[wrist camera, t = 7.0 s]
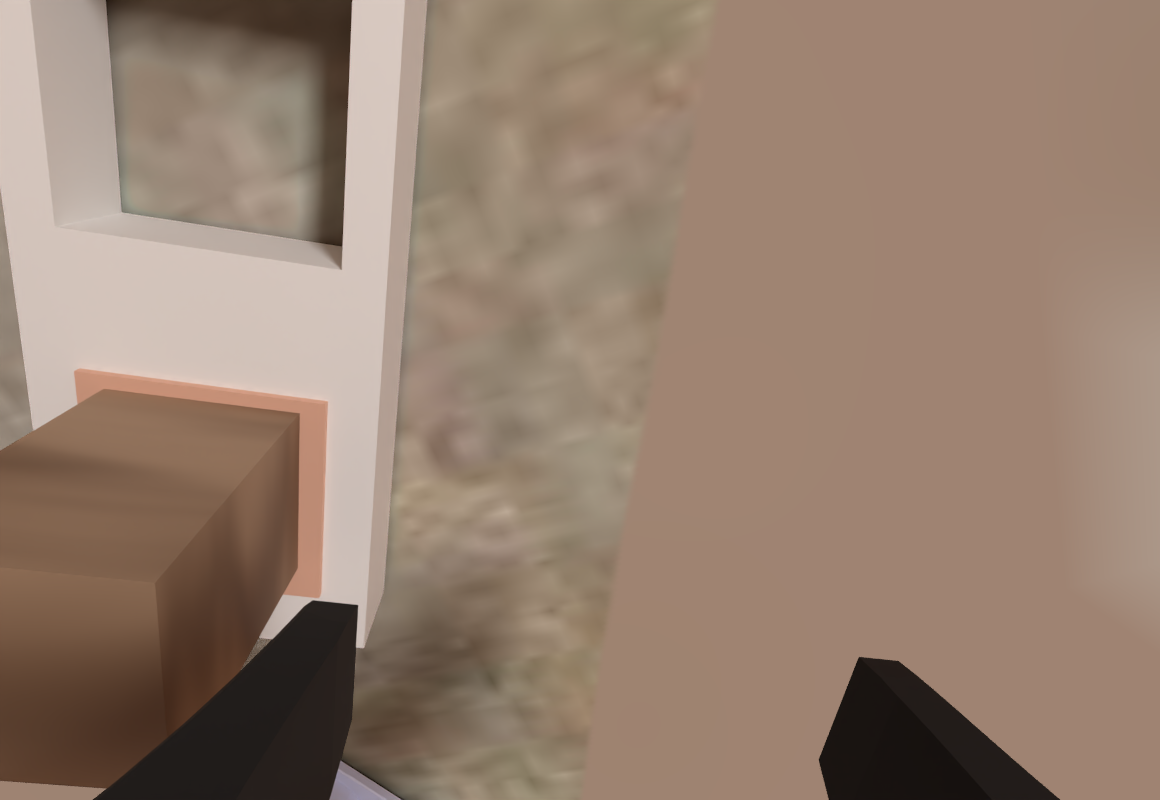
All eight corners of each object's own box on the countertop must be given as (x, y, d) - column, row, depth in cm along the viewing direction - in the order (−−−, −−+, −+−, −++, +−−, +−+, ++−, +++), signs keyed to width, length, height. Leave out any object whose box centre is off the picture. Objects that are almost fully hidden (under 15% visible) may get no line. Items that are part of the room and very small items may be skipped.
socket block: (383, 591, 22) (361, 653, 19) (113, 562, 21) (54, 623, 18) (433, -86, 15) (410, -127, 13) (43, -165, 14) (-65, -226, 12)
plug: (297, 568, 18) (171, 792, 12) (119, 549, 18) (-105, 772, 12) (299, 413, 16) (154, 583, 10) (103, 388, 16) (-167, 550, 10)
